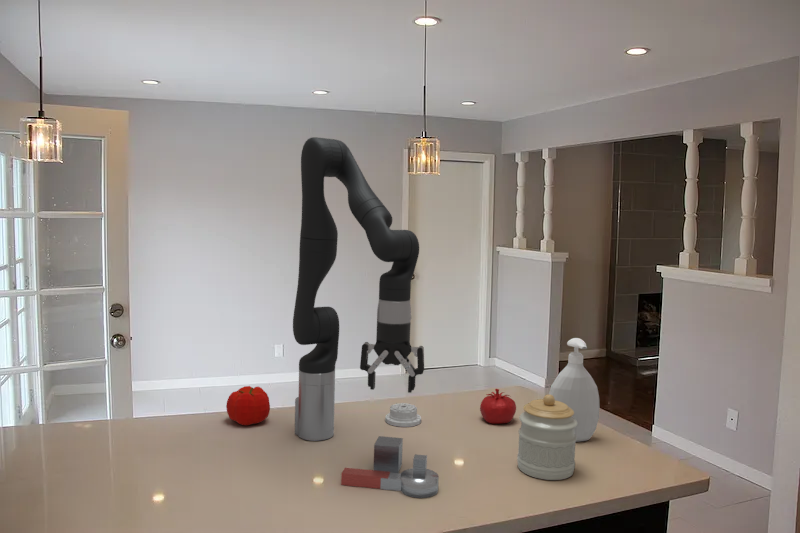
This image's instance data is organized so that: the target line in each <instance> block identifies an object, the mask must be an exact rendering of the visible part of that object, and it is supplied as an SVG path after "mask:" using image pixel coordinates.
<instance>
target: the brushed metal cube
mask: <svg viewBox="0 0 800 533" xmlns="http://www.w3.org/2000/svg"><path fill="white" fill-rule="evenodd" d="M403 439H404V438H402V437H393V436H382V435H380V436H379V435H378V437H377V439H376V441H375V443H374V445H373V470H377V471H388V472H391V473H400V470H401V467H402V465H403V444H404V443H403Z"/></svg>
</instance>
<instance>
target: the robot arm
mask: <svg viewBox="0 0 800 533" xmlns="http://www.w3.org/2000/svg"><path fill="white" fill-rule="evenodd" d="M300 156H301V157H300V176H301V220H300V222H301V224H300V233H299V237H300V238H299V256H298V257H299V261H298V278H297V279H298V280H297V287H296V288H297V289H296V295H295V296H296V297H295V301H294V302H295V303H294V310H293V317H292V333H293V334H292V335H293V337H294V340H295V342H296V343H298V344H299V345H301V346H306V345H307V346H308V345H315V347H314V348H313V349H312V350H311V351H310V352H307V353H306V354H304V355H302V356H301V357H300V358H299V362H298V397H295V400H294V435H296V436H298V438H300V439H302V440H306V441H313V442H314V441H315V442H317V441H324V440H328V439H330V438H332V437H334V435H335V434H334V433H335V391H336V365H337V364H336V363H337V361H338V354H339V350H338V349H339V338H340V319H339V315H338V312H337V311H336V309H335V308H334V307H332V306H315V303H316V297H317V295H318V291H319V289H320V286H321V284H322V283H323V281H324V280H325V278H326V276H327V275H328V274H329V272H330V271H331V268H333V266H334V263H335V262H336V258H337V253H338V240H339V239H338V236H339V235H338V233H339V232H338V228H337V225H336V222H335V219H334V218H333V215H332V213H331V211H330V209H329V207H328V204H327V202H326V198H325V178H336V179H337V180H339V182H341V184H343V186H344V187H345V188H346V190H347V203H348V206H349V210H350V211H351V214H352V216H353V217H354V219H356V221H357V222H358V224H359V225H360V226H361V227H362V229H363V230H364V231H365V235H366V238H367V240H368V243H369V246H370V248H371V251H372V253H373V255H374V256H375V257H377V258H378V260H381V261H382V262H384V263H392V266H391V268H390V269H389V270H388V271H386V272H384V273H381V276H380V277H379V281H378V283H379V286H378V303H377V310H376V312H377V313H376V335H375V336H376V337H375V338H376V340H375V341H376V342H375V343H369V342H368V341H365V342H363V344H362V345H361V354H360V363H359V364H360V365H359V368H360V370H361V371H365V372H367V387H369V388H370V390H371V391H372V390H375V388H376V371H375V370H376V369H377V368H378V367H379V366H380V364H381V363H383V364H384V365H394V366H399V365H402V367H403V369H405V371H406V372H407V373H408V383H407V384H408V385H407V393H409V394H412V392H413V391H414V390H415V388H416V378H417V377H416V376H420V375H423V373H424V371H425V349H424V346H423V345H419V346H412V344H411V320H412V305H411V291H412V290H411V289H412V284H411V283H412V279H413V277H414V273H415V270H416V266H417V262H418V259H419V254H420V242H419V239H418V236H417V235H416V234H415V232H413V231H411V230H409V229H391V226H392V224H393V216H392V213H391V212H390V210H389V209H388V208H387V207H386V206H385V204H384V203H383V202H382V200H381V199H380V198H379V197H378V196H377V194H376V193H375V191H374V190H373V189H372V188H371V186H370V184H369V183H368V181H367V180H366V178H365V176H364V174H363V171H362V170H361V168H360V166H359V164H358V163H357V161H356V158H355V157H354V155H353V153H352V152H351V150H350V148H349V147H348V146H347V144H346V143H345V142H343V141H342V140H339V139H333V138H324V137H312V136H311V137H309V138H307V140H305V142H304V144H303V146H302V150H301V154H300ZM372 351H374V352H375V353H376V355H377V358H376V359H375V361H373V363H372V364H371V365H370V364H369V363H368V362H369V354H371V352H372ZM411 353H413V355H414V357H415V358H416V360H417V367H414V366H413V363H412V361H411V360H410V359H409V355H410V354H411Z"/></svg>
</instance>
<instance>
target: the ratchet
mask: <svg viewBox="0 0 800 533" xmlns="http://www.w3.org/2000/svg"><path fill="white" fill-rule="evenodd" d="M412 460H413V461H412V467H411V468H407V469H404V470H403V471H401V472H399V473H391V472H388V471H377V470H374V469H363V468H354V467H344V468H343V470H342V472H341V474H340V475H341V476H340V478H341V480H340V485H341V486H349V487H356V488H358V487H359V488H367V489H368V488H369V489H379V490H385V491H386V490H387V491H395V492H396V491H397V492H401V493H402V494H403V495H404V496H407V497H411V498H416V499H427V498H431V497H433V496H436V495H437V494H438V492H439V476H440V475H439V474H438V473H437V472H436V471H434V470H432V469H430V468H427V466H428V455H427V454H416V453H415V454H414V456H413V458H412Z"/></svg>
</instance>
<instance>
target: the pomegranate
mask: <svg viewBox="0 0 800 533" xmlns="http://www.w3.org/2000/svg"><path fill="white" fill-rule="evenodd" d="M494 390H495V392H494V391H492V392H491V393H488V394H487V393H486V394H485V395H486V396H484V398H483V399H482V401H481V402H480V406H479V411H480V414H481V417H482V418H483V420H484V421H486V423H489V424H491V425H493V424H494V425H495V424H497V425H500V424H501V425H502V424H503V425H504V424H508V423H510V422H512V420H513V419H514V416H515V414H516V411H517V405H516V402H515V401H514V399H512V398H511V397H512V396H511V395H509V394H504V393H505V392H500V389H499V388H495V389H494ZM503 394H504V395H503Z"/></svg>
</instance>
